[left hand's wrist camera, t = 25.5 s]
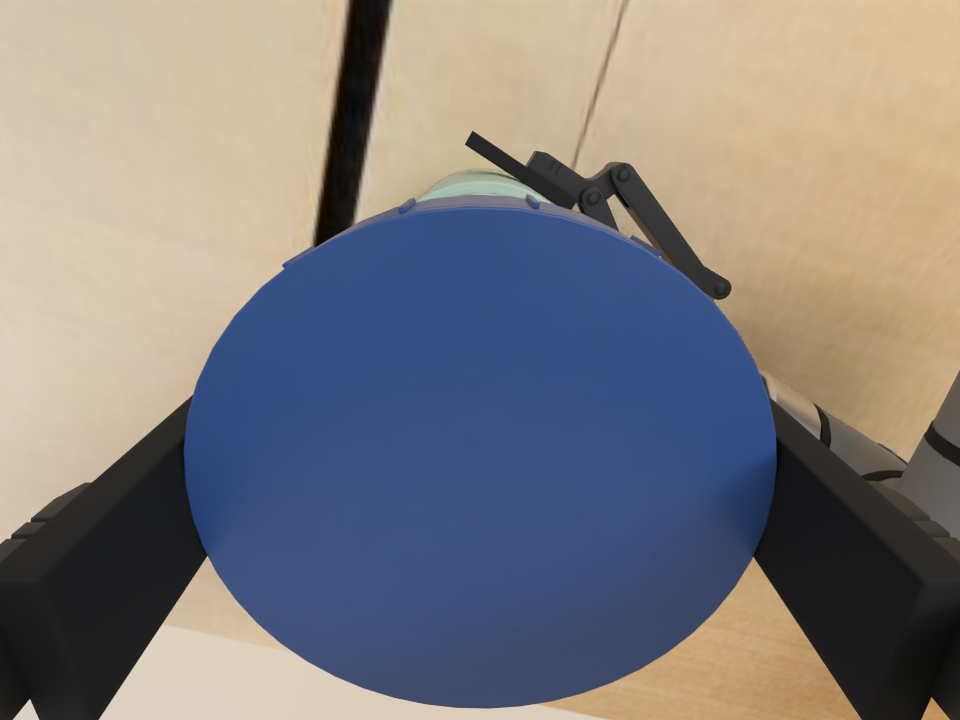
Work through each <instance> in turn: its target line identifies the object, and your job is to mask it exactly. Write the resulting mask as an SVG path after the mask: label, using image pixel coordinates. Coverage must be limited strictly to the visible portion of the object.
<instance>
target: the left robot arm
mask: <svg viewBox="0 0 960 720" xmlns="http://www.w3.org/2000/svg"><path fill="white" fill-rule="evenodd" d="M193 395H194V394H193ZM193 395H192V396H191V397H190V398H189V399H188V400H187V401H185V402H184V403H183V404H182V405H181V406H180V407H178V408H177V409H176V410H175V411H174V412H173V413H172V414H170V415H169V416H168V417H167V418H166V419H165V420H164V421H162V422H161V423H160V424H159V425H158V426H157V427H155V428H154V429H153V430H152V431H151V432H150V433H149V434H147V435H146V436H145V437H144V438H143V439H142V440H141V441H139V442H138V443H137V444H136V445H135V446H134V447H132V448H131V449H130V450H129V451H128V452H127V453H126V454H124V455H123V456H122V457H121V458H120V459H119V460H118V461H116V462H115V463H114V464H113V465H112V466H111V467H109V468H108V469H107V470H106V471H105V472H104V473H103V474H101V475H100V476H99V477H98V478H97V479H96V480H95V481H93V482H92V483H84V484H82V485H80V486H78V487H76V488H74V489H72V490H71V491H69V492H67V493H65V494H63V495H61V496H59V497H58V498H56V499H54V500H53V501H52V502H50V503H49V504H48V505H47V506H46V507H44V508H43V509H42V510H41V511H40V512H38V513H37V514H36V515H35V516H34V517H32V518H31V522H26V523H25V524H24V525H23V526H22V527H20V528H19V529H18V530H17V531H16V532H14V533H13V534H12V537H11V539H6V540H5V541H4V542H2V543H1V544H0V720H13V719H14V717H15V716H16V715H17V714H18V713H19V711H20V710H21V709H22V708H23V706H24V705H25V704H26V703H27V702H28V700H29V699H30V700H31V702H32V704H33V706H34V709H35V711H36V713H37V715H38V718H39V720H99V718H100V717H101V715H102V714H103V712H104V711H105V709H106V708H107V706H108V705H109V703H110V702H111V700H112V699H113V697H114V696H115V694H116V693H117V691H118V690H119V688H120V687H121V685H122V684H123V682H124V681H125V679H126V678H127V676H128V675H129V673H130V672H131V670H132V669H133V667H134V666H135V664H136V663H137V661H138V660H139V658H140V657H141V655H142V654H143V652H144V650H145V649H146V647H147V646H148V644H149V643H150V641H151V640H152V638H153V637H154V635H155V634H156V632H157V631H158V629H159V628H160V626H161V625H162V623H163V622H164V620H165V619H166V617H167V616H168V614H169V613H170V611H171V610H172V608H173V607H174V605H175V604H176V602H177V601H178V599H179V598H180V596H181V595H182V593H183V592H184V590H185V589H186V587H187V586H188V584H189V583H190V581H191V580H192V578H193V577H194V575H195V574H196V572H197V571H198V569H199V568H200V566H201V565H202V563H203V562H204V560H205V559H206V557H207V556H208V555H207V553H206V552H205V550H204V548H203V546H202V543H201V540H200V538H199V535H198V532H197V529H196V527H195V524H194V521H193V517H192V513H191V508H190V504H189V500H188V495H187V491H186V486H185V470H184V443H185V434H186V425H187V417H188V413H189V409H190V405H191V402H192V398H193ZM768 397H769V396H768ZM769 401H770V406H771V411H772V416H773V421H774V426H775V431H776V452H777V472H776V480H775V488H774V495H773V499H772V503H771V507H770V511H769V515H768V519H767V523H766V527H765V530H764V533H763V535H762V537H761V540H760V542H759V544H758V546H757V549H756V551H755V553H754V555H753V557H754V558H755V560H756V561H757V563H758V564H759V566H760V567H761V569H762V570H763V572H764V573H765V575H766V576H767V578H768V579H769V581H770V582H771V584H772V585H773V587H774V588H775V590H776V591H777V593H778V594H779V596H780V597H781V599H782V600H783V602H784V603H785V605H786V606H787V608H788V609H789V611H790V612H791V614H792V615H793V617H794V618H795V620H796V621H797V623H798V624H799V626H800V627H801V629H802V630H803V632H804V633H805V635H806V636H807V638H808V639H809V641H810V642H811V644H812V645H813V647H814V648H815V650H816V651H817V653H818V655H819V656H820V658H821V659H822V661H823V662H824V664H825V665H826V667H827V668H828V670H829V671H830V673H831V674H832V676H833V677H834V679H835V680H836V682H837V683H838V685H839V686H840V688H841V689H842V691H843V692H844V694H845V695H846V697H847V698H848V700H849V701H850V703H851V704H852V706H853V707H854V709H855V710H856V712H857V713H858V715H859V716H860V718H861V719H862V720H921V719H922V717H923V714H924V712H925V710H926V708H927V705H928V703H929V701H930V699H931V697H932V698H933V699H934V700H935V702H936V703H937V704H938V705H939V707H940V708H941V709H942V710H943V711H944V713H945V714H946V715H947V716H948V718H949V719H950V720H960V541H959V540H958V539H957V538H955V537H950V533H949V532H948V531H947V530H946V529H944V528H943V527H942V526H941V525H940V524H938V523H937V522H936V521H931V520H930V516H929V515H927V514H926V513H925V512H924V511H923V510H921V509H920V508H919V507H918V506H917V505H915V504H914V503H913V502H912V501H910V500H909V499H908V498H907V497H905V496H903V495H901V494H899V493H898V492H896V491H894V490H892V489H890V488H888V487H886V486H885V485H883V484H881V483H879V482H877V481H866V480H865V479H864V478H862V477H861V476H860V475H859V474H858V473H857V472H856V471H854V470H853V469H852V468H851V467H850V466H849V465H847V464H846V463H845V462H844V461H843V460H842V459H841V458H839V457H838V456H837V455H836V454H835V453H834V452H833V451H831V450H830V449H829V448H828V447H827V446H826V445H824V444H823V443H822V442H821V441H820V440H819V439H818V438H816V437H815V436H814V435H813V434H812V433H811V432H810V431H808V430H807V429H806V428H805V427H804V426H803V425H801V424H800V423H799V422H798V421H797V420H796V419H795V418H793V417H792V416H791V415H790V414H789V413H788V412H786V411H785V410H784V409H783V408H782V407H781V406H780V405H778V404H777V403H776V402H775V401H774V400H773V399H772V398H770V397H769Z"/></svg>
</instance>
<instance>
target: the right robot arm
mask: <svg viewBox="0 0 960 720" xmlns="http://www.w3.org/2000/svg"><path fill="white" fill-rule="evenodd" d="M465 145H466V146H468V147H469V148H471V149H472V150H474V151H475V152H477V153H479V154H480V155H482V156H483V157H485V158H486V159H488V160H489V161H491V162H492V163H494V164H495V165H497V166H498V167H500V168H501V169H503V170H504V171H506V172H507V173H509V174H510V175H512V176H513V177H515V178H516V179H518V180H519V181H521V182H522V183H524V184H525V185H527V186H528V187H530V188H531V189H533V190H534V191H536V192H537V193H539V194H540V195H542V196H543V197H545V198H546V199H548V200H549V201H551V202H552V203H554V204H555V205H557V206H560V207H563V208H566V209H569V210H571V209H572V208H573V206H574V205H575V203H577V205H578V207H579V210H580V212H581V213H582V214H584V215H586V216H588V217H590V218H592V219H594V220H596V221H599V222H601V223H603V224H605V225H607V226H609V227H611V228H613V229H615V230H617V231H619V230H618V228H617V225H616V223H615V220H614V218H613V215H612V213H611V210H610V208H609V206H608V203H607V201H606V200H607V199H608V198H609V197H611V196H612V195H613V194H615V195H616V197H617V198H618V199H619V201H620V202H621V204H622V205H623V206H624V208H625V209H626V210H627V212H628V213H629V214H630V216H631V217H632V218H633V220H634V221H635V222H636V224H637V225H638V226H639V228H640V229H641V231H642V232H643V233H644V235H645V236H646V237H647V239H648V240H649V241H650V243H651V244H652V245H653V247H654V248H656V249H657V250H659V251H660V252H661V254H660V256H661V257H662V259H663V260H664V261H665V262H667V263H668V264H670V265H671V266H673V267H674V268H676V269H677V270H679V271H680V272H682V273H683V274H684V275H685V276H686V277H687V278H688V279H690V280H691V281H692V282H693V283H694V284H695V285H696V286H697V287H698V288H699V289H700V290H702V291H703V292H704V293H705V294H706V295H707V296H708V297H709V298H710V299H711V300H712V301H714V299H717V300H720V299H724V298H726V297H727V296H728V295H729V294H730V292H731V284H730V282H729V281H728V280H726V279H724V278H723V277H721V276H719V275H718V274H716V273H714V272H713V271H711V270H710V269H708V268H706V267H705V266H703V264H702V263H701V262H700V260H699V259H698V257H697V256H696V255H695V253H694V252H693V250H692V249H691V248H690V246H689V245H688V243H687V242H686V241H685V239H684V238H683V236H682V235H681V234H680V232H679V231H678V229H677V228H676V227H675V225H674V224H673V222H672V221H671V220H670V218H669V217H668V216H667V214H666V213H665V211H664V210H663V209H662V207H661V206H660V204H659V203H658V202H657V200H656V199H655V197H654V196H653V195H652V193H651V192H650V190H649V189H648V188H647V186H646V185H645V183H644V182H643V181H642V179H641V178H640V176H639V175H638V174H637V172H636V171H635V169H634V168H633V167H632V166H631V165H630V164H627V163H622V162H610V163H608V164H607V165H606V166H605V167H604V169H602V170H601V171H600V172H599V173H597V174H596V175H595V176H593V177H591V178H583V177H581V176H580V175H578V174H577V173H575V172H574V171H573V170H571V169H570V168H568V167H567V166H565V165H564V164H562V163H561V162H559V161H558V160H556V159H555V158H554V157H552V156H551V155H549V154H548V153H544V152H539V151H534V153H533V154H532V156H531V158H530V159H529V161H528V163H527V164H526V166H524V165H523V164H521V163H520V162H518V161H517V160H515V159H514V158H512V157H511V156H509V155H508V154H506V153H505V152H503V151H502V150H500V149H499V148H497V147H496V146H494V145H493V144H491V143H490V142H488V141H487V140H485V139H484V138H482V137H481V136H479V135H478V134H476V133H475V132H473V131H472V133H471V135H470V136H469V138H468V140H467V142H466V143H465ZM758 370H759V373H760V376H761V378H762V381H763V384H764V386H765V389H766V392H767V394H768V396H769V397H770V398H772V399H773V400H774V401H775V402H776V403H777V404H778V405H780V406H781V407H782V408H783V409H784V410H785V411H786V412H788V413H789V414H790V415H791V416H792V417H793V418H795V419H796V420H797V421H798V422H799V423H800V424H801V425H803V426H804V427H805V428H806V429H807V430H808V431H810V432H811V433H812V434H813V435H814V436H815V437H816V438H818V439H819V440H820V441H821V442H822V443H823V444H824V445H826V446H827V447H828V448H829V449H830V450H831V451H833V452H834V453H835V454H836V455H837V456H838V457H839V458H841V459H842V460H843V461H844V462H845V463H846V464H847V465H849V466H850V467H851V468H852V469H853V470H854V471H856V472H857V473H858V474H859V475H860V476H861V477H862V478H864V479H865V480H866V481H877V482H879V483H881V484H883V485H885V486H886V487H888V488H890V489H892V490H894V491H896V492H898V493H899V494H901V495H903V496H905V497H907V498H908V499H909V500H910V501H912V502H913V503H914V504H915V505H917V506H918V507H919V508H920V509H921V510H923V511H924V512H925V513H926V514H927V515H929V516H930V520H931V521H936V522H937V523H938V524H940V525H941V526H942V527H943V528H944V529H946V530H947V531H948V532H949V533H950V537H955V538H957V539H958V540H959V541H960V371H959V373H958V375H957V377H956V379H955V381H954V383H953V384H952V386H951V388H950V390H949V392H948V394H947V396H946V398H945V400H944V402H943V404H942V406H941V408H940V410H939V412H938V414H937V416H936V418H935V419H934V420H933V421H931V424H930V426H929V428H928V430H927V432H926V433H925V434H924V436H923V438H922V439H921V441H920V443H919V445H918V447H917V449H916V450H915V452H914V454H913V456H912V458H911V460H910V461H909V463H908V462H906V461H905V460H903V459H902V458H900V457H899V456H897V454H896V453H895V452H894V451H892V450H890V449H889V448H887V447H885V446H883V445H882V444H879V443H875V442H874V441H872V440H871V439H869V438H868V437H866V436H865V435H863V434H861V433H860V432H858V431H857V430H855V429H853V428H852V427H850V426H848V425H847V424H845V423H844V422H842V421H840V420H839V419H837V418H835V417H834V416H832V415H830V414H829V413H827V412H825V411H824V410H822V409H821V408H819V407H818V406H817V405H816V404H814V403H813V402H812V401H810V400H809V399H807V398H806V397H804V396H803V395H801V394H800V393H798V392H797V391H795V390H794V389H792V388H791V387H789V386H788V385H786V384H784V383H783V382H781V381H780V380H778V379H777V378H775V377H774V376H772V375H771V374H769V373H768V372H766V371H764V370H762V369H760V368H758Z"/></svg>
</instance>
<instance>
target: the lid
mask: <svg viewBox="0 0 960 720" xmlns="http://www.w3.org/2000/svg"><path fill="white" fill-rule="evenodd" d="M660 254H661V252H660V251H659V250H657V249H656V248H654V247H652V246H650V245H649V244H647V243H645V242H644V241H642V240H640V239H639V238H637V237H635V236H633V235H632V236H631V238H628V237H627V236H625V235H623V234H622V233H620V232H619V231H617V230H615V229H613V228H611V227H609V226H607V225H605V224H603V223H601V222H599V221H596V220H594V219H592V218H590V217H588V216H586V215H584V214H582V213H578V212H575V211H572V210H569V209H566V208H563V207H560V206H556V205H553V204H550V203H547V202H541V201H537V200H536V199H535V198H534V197H533V196H532V195H529V194H526V199H524V198H518V197H512V196H496V195H462V196H453V197H443V198H433V199H429V200H424V201H420V202H416V201H415V198H413V199H409V200H408V201H407V202H405V203H404V204H403V205H401V206H400V207H396V208H393V209H391V210H388V211H386V212H383V213H381V214H378V215H376V216H373V217H371V218H368V219H366V220H363V221H361V222H359V223H357V224H355V225H354V226H352V227H350V228H348V229H347V230H345V231H343V232H341V233H340V234H338V235H336V236H334V237H333V238H331V239H329V240H328V241H326V242H324V243H323V244H321V245H320V246H318V247H316V248H315V247H314V246H312V247H310V248H309V249H307V250H305V251H304V252H302V253H300V254H299V255H297V256H295V257H293V258H292V259H290V260H288V261H287V262H285V263H284V264H283V265H282V266H283V267H284V268H285V269H284V270H283V271H281V272H280V273H279V274H277V275H276V276H275V277H274V278H272V279H271V280H270V281H269V282H267V283H266V284H265V285H264V286H262V287H261V288H260V289H259V290H258V292H257V293H256V294H255V295H254V296H253V297H252V298H251V299H250V300H249V301H248V302H247V303H246V304H245V305H244V307H243V308H242V309H241V310H240V311H239V312H238V313H237V314H236V315H235V316H234V318H233V319H232V321H231V322H230V323H229V325H228V326H227V328H226V329H225V331H224V332H223V334H222V335H221V337H220V338H219V340H218V341H217V343H216V344H215V346H214V347H213V349H212V351H211V353H210V355H209V357H208V360H207V362H206V364H205V366H204V368H203V370H202V372H201V375H200V377H199V379H198V381H197V384H196V388H195V391H194V395H193V398H192V402H191V405H190V409H189V413H188V417H187V425H186V434H185V443H184V470H185V486H186V491H187V495H188V500H189V504H190V508H191V513H192V517H193V521H194V524H195V527H196V529H197V532H198V535H199V538H200V540H201V543H202V546H203V548H204V550H205V552H206V553H207V555H208V557H209V559H210V561H211V563H212V565H213V567H214V569H215V570H216V572H217V574H218V576H219V577H220V578H221V580H222V581H223V583H224V584H225V585H226V587H227V588H228V590H229V591H230V592H231V594H232V595H233V597H234V598H235V599H236V601H237V602H238V603H239V604H240V605H241V606H242V607H243V608H244V609H245V610H246V611H247V613H248V614H249V615H250V616H251V617H252V618H253V619H254V620H255V621H256V622H257V623H258V624H259V625H260V626H261V627H262V628H264V629H265V630H266V631H267V632H268V633H269V634H271V635H272V636H273V637H274V638H275V639H276V640H278V641H279V642H280V643H281V644H283V645H284V646H285V647H287V648H288V649H290V650H291V651H293V652H294V653H296V654H297V655H299V656H300V657H301V658H303V659H304V660H306V661H308V662H309V663H311V664H313V665H315V666H317V667H319V668H320V669H322V670H324V671H326V672H328V673H330V674H332V675H333V676H335V677H338V678H340V679H343V680H345V681H348V682H350V683H352V684H355V685H357V686H359V687H362V688H364V689H368V690H371V691H374V692H377V693H381V694H384V695H387V696H390V697H393V698H398V699H403V700H408V701H412V702H417V703H422V704H428V705H437V706H446V707H455V708H503V707H517V706H525V705H531V704H538V703H544V702H550V701H554V700H558V699H562V698H566V697H570V696H574V695H578V694H582V693H585V692H587V691H590V690H593V689H596V688H598V687H601V686H604V685H607V684H610V683H612V682H614V681H616V680H618V679H621V678H623V677H625V676H627V675H629V674H631V673H633V672H635V671H637V670H639V669H641V668H643V667H645V666H646V665H648V664H649V663H651V662H653V661H654V660H656V659H658V658H659V657H661V656H663V655H664V654H666V653H667V652H669V651H670V650H671V649H673V648H674V647H675V646H677V645H678V644H679V643H681V642H682V641H683V640H684V639H686V638H687V637H688V636H690V635H691V634H692V633H693V632H694V631H695V630H696V629H697V628H698V627H699V626H701V625H702V624H703V623H704V622H705V621H706V620H707V619H708V618H709V617H710V616H711V615H712V614H713V613H714V612H715V611H716V610H717V608H718V607H719V606H720V605H721V603H722V602H723V601H724V600H725V599H726V597H727V596H728V595H729V594H730V592H731V591H732V590H733V589H734V587H735V586H736V584H737V583H738V581H739V579H740V578H741V576H742V575H743V573H744V571H745V570H746V568H747V566H748V565H749V563H750V562H751V560H752V558H753V555H754V553H755V551H756V549H757V546H758V544H759V542H760V540H761V537H762V535H763V533H764V530H765V527H766V523H767V519H768V515H769V511H770V507H771V503H772V499H773V495H774V488H775V480H776V472H777V452H776V431H775V426H774V421H773V416H772V411H771V406H770V401H769V397H768V394H767V392H766V389H765V386H764V384H763V381H762V378H761V376H760V373H759V370H758V368H757V365H756V363H755V361H754V360H753V358H752V356H751V354H750V353H749V351H748V349H747V347H746V346H745V344H744V342H743V340H742V339H741V337H740V335H739V333H738V332H737V330H736V329H735V328H734V327H733V325H732V324H731V323H730V322H729V320H728V319H727V318H726V317H725V315H724V314H723V313H722V312H721V310H720V309H719V308H718V307H717V305H716V304H715V303H714V302H713V301H712V300H711V299H710V298H709V297H708V296H707V295H706V294H705V293H704V292H703V291H702V290H700V289H699V288H698V287H697V286H696V285H695V284H694V283H693V282H692V281H691V280H690V279H688V278H687V277H686V276H685V275H684V274H683V273H682V272H680V271H679V270H677V269H676V268H674V267H673V266H671V265H670V264H668V263H667V262H665V261H664V260H662V259H661V258H659V256H660Z"/></svg>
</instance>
